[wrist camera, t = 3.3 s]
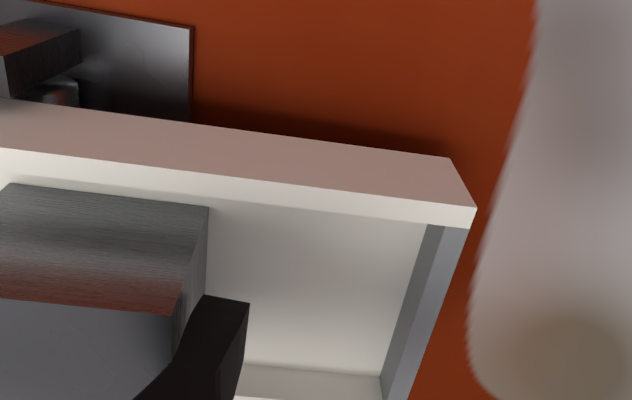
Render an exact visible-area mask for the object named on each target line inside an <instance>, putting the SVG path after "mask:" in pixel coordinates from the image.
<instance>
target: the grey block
mask: <svg viewBox="0 0 632 400" xmlns="http://www.w3.org/2000/svg"><path fill="white" fill-rule="evenodd" d="M208 219H209V207H206V206H197V205H189V204H181V203H173V202H164V201H156V200H148V199H140V198H131V197H123V196H115V195H107V194H98V193H90V192H82V191H74V190H65V189H57V188H49V187H41V186H32V185H24V184H16V183H9V184H7V185H6V186H5V187H4V188H3V189H2V190H1V191H0V400H132V399H133V398H134V397H135V396H137V395H138V394H139V393H140V392H141V391H142V390H143V389H144V388H145V387H146V386H147V385H149V384H150V383H151V382H152V381H153V380H154V379H155V378H156V377H157V376H158V375H159V374H160V373H161V372H162V371H163V370H164V369H165V368H166V367H167V366H168V365H169V364H170V363H171V362H172V361H173V358H174V355H175V353H176V350H177V347H178V345H179V342H180V340H181V337H182V334H183V332H184V329H185V327H186V324H187V322H188V319H189V317H190V314H191V313H192V311H193V309H194V308H195V306H196V304H197V303H198V301H199V300H200V298H201V297H202V295H203V294H205V284H206V262H207V240H208Z"/></svg>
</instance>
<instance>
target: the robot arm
mask: <svg viewBox="0 0 632 400" xmlns="http://www.w3.org/2000/svg"><path fill="white" fill-rule="evenodd" d="M249 309H250V303H248V302H242V301H237V300H232V299H227V298H221V297H216V296H211V295H205V294H203V295H202V297H201V298H200V300H199V301H198V303H197V304H196V306H195V308H194V309H193V311H192V313H191V314H190V317H189V319H188V322H187V324H186V327H185V329H184V332H183V334H182V337H181V340H180V342H179V345H178V347H177V350H176V353H175V355H174V358H173V361H172V362H171V363H170V364H169V365H168V366H167V367H166V368H165V369H164V370H163V371H162V372H161V373H160V374H159V375H158V376H157V377H156V378H155V379H154V380H153V381H152V382H151V383H150V384H149V385H147V386H146V387H145V388H144V389H143V390H142V391H141V392H140V393H139V394H138V395H137V396H135V397H134V398H133V399H132V400H233V399H234V395H235V391H236V388H237V384H238V380H239V376H240V372H241V368H242V364H243V361H244V353H245V344H246V335H247V327H248V318H249Z"/></svg>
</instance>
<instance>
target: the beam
mask: <svg viewBox="0 0 632 400" xmlns="http://www.w3.org/2000/svg"><path fill="white" fill-rule="evenodd" d="M9 183H16V184H24V185H32V186H41V187H49V188H57V189H65V190H74V191H82V192H90V193H98V194H107V195H115V196H123V197H131V198H140V199H148V200H156V201H164V202H173V203H181V204H189V205H197V206H206V207H209V219H208V240H207V262H206V284H205V295H211V296H216V297H221V298H227V299H232V300H237V301H242V302H248V303H250V309H249V318H248V327H247V335H246V344H245V353H244V361H243V364H242V368H241V372H240V376H239V380H238V384H237V388H236V391H235V395H234V399H233V400H407V399H408V396H409V393H410V390H411V388H412V385H413V382H414V380H415V377H416V374H417V371H418V369H419V366H420V363H421V360H422V358H423V355H424V352H425V350H426V347H427V344H428V341H429V339H430V336H431V333H432V330H433V328H434V325H435V322H436V320H437V317H438V314H439V311H440V309H441V306H442V303H443V301H444V298H445V295H446V292H447V290H448V287H449V284H450V281H451V279H452V276H453V273H454V271H455V268H456V265H457V262H458V260H459V257H460V254H461V252H462V249H463V246H464V243H465V241H466V238H467V235H468V232H469V230H470V227H471V224H472V222H473V219H474V216H475V213H476V211H477V206H476V204H475V203H474V201H473V199H472V197H471V195H470V194H469V192H468V190H467V188H466V186H465V185H464V183H463V181H462V179H461V177H460V176H459V174H458V172H457V170H456V169H455V167H454V165H453V163H452V161H451V160H450V158H445V157H438V156H430V155H423V154H416V153H408V152H401V151H393V150H386V149H379V148H371V147H364V146H356V145H349V144H342V143H334V142H327V141H319V140H312V139H304V138H297V137H290V136H282V135H275V134H267V133H260V132H253V131H245V130H238V129H230V128H223V127H216V126H208V125H201V124H193V123H186V122H179V121H171V120H164V119H156V118H149V117H141V116H134V115H127V114H119V113H112V112H104V111H97V110H90V109H82V108H75V107H67V106H60V105H53V104H45V103H38V102H30V101H23V100H16V99H8V98H1V97H0V191H1V190H2V189H3V188H4V187H5V186H6V185H7V184H9Z"/></svg>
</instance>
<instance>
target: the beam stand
mask: <svg viewBox="0 0 632 400" xmlns="http://www.w3.org/2000/svg"><path fill="white" fill-rule="evenodd" d="M193 35H194V27H192V26H186V25H180V24H175V23H169V22H163V21H158V20H152V19H146V18H141V17H135V16H129V15H124V14H118V13H112V12H106V11H101V10H95V9H89V8H84V7H78V6H72V5H67V4H61V3H55V2H50V1H44V0H0V97H1V98H8V99H16V100H23V101H30V102H38V103H45V104H53V105H60V106H67V107H75V108H82V109H90V110H97V111H104V112H112V113H119V114H127V115H134V116H141V117H149V118H156V119H164V120H171V121H179V122H186V123H191V119H192V77H193Z"/></svg>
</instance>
